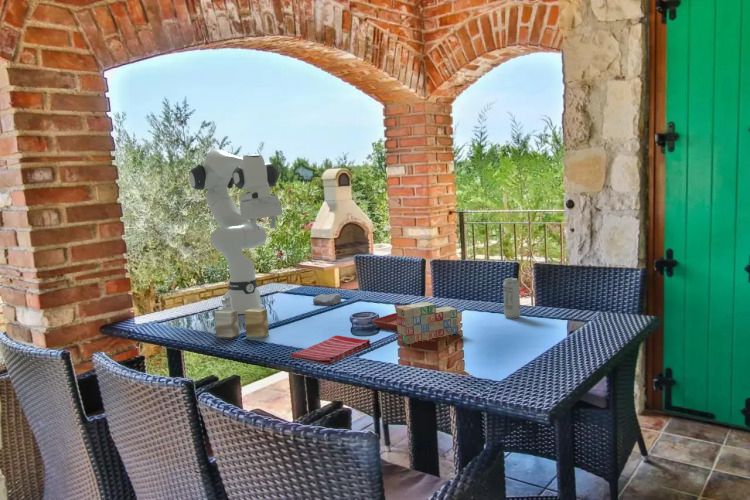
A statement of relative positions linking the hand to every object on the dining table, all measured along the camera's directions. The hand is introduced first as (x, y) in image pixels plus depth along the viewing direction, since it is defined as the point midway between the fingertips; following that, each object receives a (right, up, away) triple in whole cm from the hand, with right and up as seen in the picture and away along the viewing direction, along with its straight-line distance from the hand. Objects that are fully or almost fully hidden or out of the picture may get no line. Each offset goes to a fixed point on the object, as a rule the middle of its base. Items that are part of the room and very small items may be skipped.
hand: (265, 229), depth 240 cm
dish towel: (+29, -43, -38) cm, 64 cm away
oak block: (-1, -41, -12) cm, 42 cm away
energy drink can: (+97, -35, -5) cm, 103 cm away
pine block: (-12, -41, -12) cm, 44 cm away
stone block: (+21, -33, +42) cm, 57 cm away
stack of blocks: (+62, -39, -27) cm, 79 cm away
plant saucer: (+55, -38, -9) cm, 67 cm away
